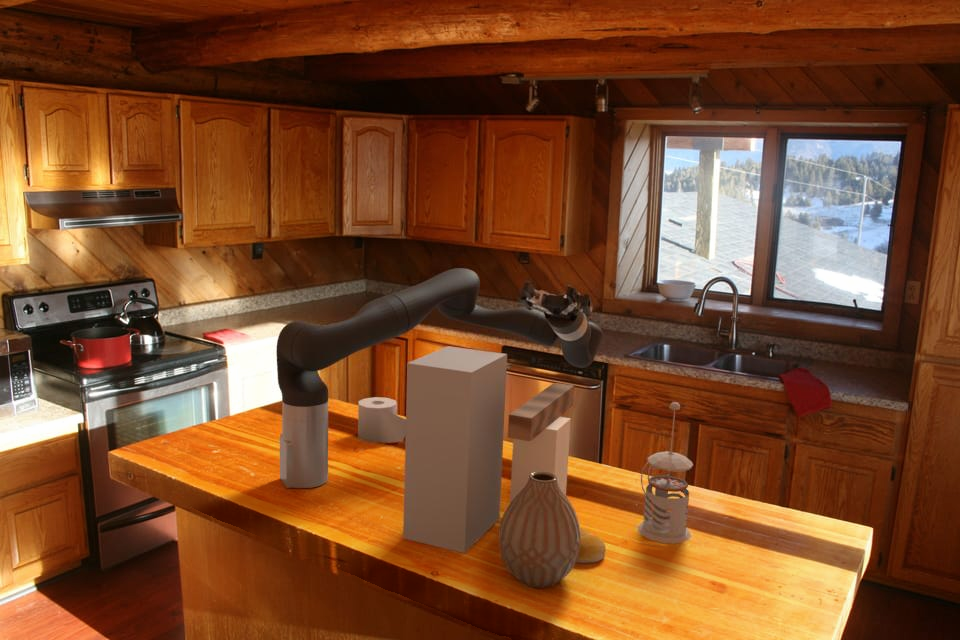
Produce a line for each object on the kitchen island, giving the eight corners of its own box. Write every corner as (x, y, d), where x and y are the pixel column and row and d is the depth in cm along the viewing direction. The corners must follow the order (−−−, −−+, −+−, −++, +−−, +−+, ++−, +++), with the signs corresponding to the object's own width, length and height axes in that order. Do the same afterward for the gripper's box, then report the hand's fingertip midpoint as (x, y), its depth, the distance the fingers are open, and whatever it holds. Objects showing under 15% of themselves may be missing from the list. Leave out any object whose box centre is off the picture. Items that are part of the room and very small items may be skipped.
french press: (660, 547, 145) (672, 412, 140) (620, 521, 155) (630, 395, 151) (702, 537, 150) (715, 407, 145) (661, 513, 160) (671, 390, 155)
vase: (555, 607, 123) (561, 499, 120) (481, 582, 130) (486, 478, 127) (591, 573, 134) (598, 473, 131) (521, 551, 141) (526, 455, 138)
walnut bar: (530, 441, 135) (531, 418, 134) (507, 437, 136) (508, 414, 135) (572, 405, 156) (574, 385, 156) (553, 402, 158) (554, 382, 157)
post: (550, 543, 145) (557, 430, 141) (508, 534, 148) (513, 423, 144) (563, 526, 152) (570, 418, 148) (523, 517, 155) (529, 411, 151)
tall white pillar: (464, 553, 140) (471, 372, 134) (403, 538, 144) (407, 363, 139) (499, 518, 154) (507, 354, 148) (442, 506, 159) (447, 346, 153)
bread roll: (583, 570, 136) (585, 547, 135) (546, 550, 143) (547, 528, 142) (616, 556, 141) (617, 535, 141) (578, 537, 148) (579, 517, 147)
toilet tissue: (407, 445, 193) (408, 410, 191) (353, 441, 194) (353, 406, 193) (415, 433, 202) (415, 399, 200) (362, 429, 203) (363, 396, 202)
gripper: (596, 338, 168) (579, 309, 153) (531, 330, 173) (508, 301, 159) (602, 305, 170) (586, 273, 156) (538, 298, 175) (517, 267, 161)
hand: (547, 287), depth 157 cm, fingers open, 8 cm apart
